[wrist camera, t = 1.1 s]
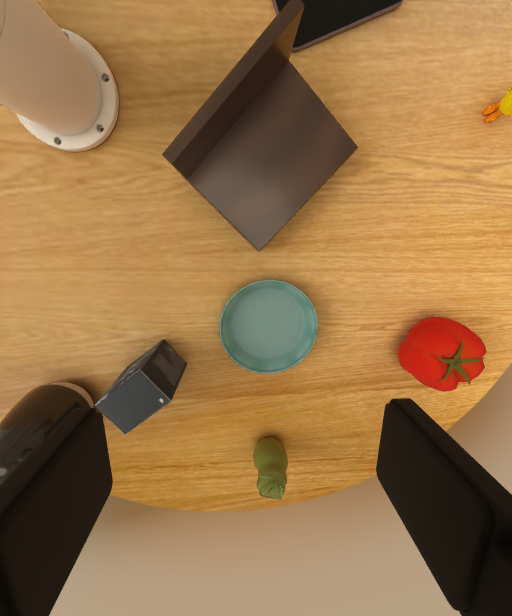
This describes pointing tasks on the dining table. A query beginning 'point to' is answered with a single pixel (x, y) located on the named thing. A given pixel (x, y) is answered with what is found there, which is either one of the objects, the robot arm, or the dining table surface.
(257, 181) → the shelf
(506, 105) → the toy figure
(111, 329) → the dining table surface
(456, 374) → the tomato
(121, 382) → the box
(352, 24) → the smartphone
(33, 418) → the dark brown egg shape
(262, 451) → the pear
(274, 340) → the saucer
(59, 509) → the robot arm
